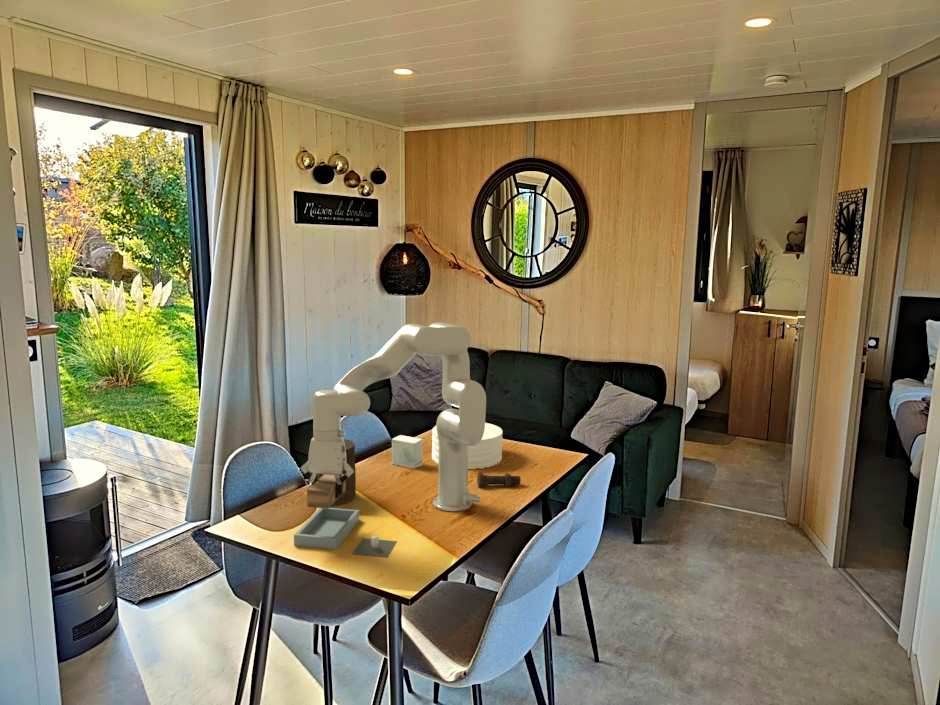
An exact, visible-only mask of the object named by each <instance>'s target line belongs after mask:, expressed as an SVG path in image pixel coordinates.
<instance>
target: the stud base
mask: <svg viewBox="0 0 940 705" xmlns="http://www.w3.org/2000/svg"><path fill="white" fill-rule="evenodd" d="M397 543H398V541H397V540H389V539H387V540H386V539H379V536H378V535H373V536H371V537H370V538H364V537H363V538H362V539H361V540H360V541H359V543H358V545H357V546H356V547H355V548H354V550H353V552H352V553H351V555H354V556H365V557H373V558H374V557H375V558H386V559H388V557H389V556H390V555H391V553H392V551H393V549H394V547H395V546H396V545H397Z"/></svg>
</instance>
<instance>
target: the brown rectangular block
mask: <svg viewBox="0 0 940 705" xmlns="http://www.w3.org/2000/svg"><path fill="white" fill-rule="evenodd" d="M344 475H345V474H343V476H344ZM336 484H337V482H336V479H335V476H334V475H327V474H324V475H323V476H322V477H321V478H320V479H319V480H318V481H316V482H315V483H314V484H313V485H312V486H311V487H310V486H309V487H308V488H307V490H306V491H307V492H306V495H307V497H306V498H307V499H306V500H307V501H306V503H307V508H315V509H317V508H319V509H320V508H325V509H329V508H331V506H333V505H332V504H333V503H334V502H335V501H336V500H337V499H338V498H336V497H335V485H336ZM345 487H346V480H345V481H344V482H343V493H344V492H345ZM343 493H342V494H343ZM342 494H341V495H342ZM341 495H340V496H341Z"/></svg>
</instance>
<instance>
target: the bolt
mask: <svg viewBox="0 0 940 705" xmlns="http://www.w3.org/2000/svg"><path fill="white" fill-rule="evenodd" d="M476 478H477V479H476V480H477V481H476V482H477V488H478V489H482V488H484V486H488V485H493V486H494V485H496V486H497V485H498V486H501V485H502V486H503V485H504V487H505V488H511V486H519V485H521V481H522V478H521V476H520V475H511V473H509V472H508V473H507V472H506V473H504V475H488V474H485V475H484V472H483V471H478V473H477V477H476Z"/></svg>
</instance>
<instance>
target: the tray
mask: <svg viewBox="0 0 940 705" xmlns="http://www.w3.org/2000/svg"><path fill="white" fill-rule="evenodd" d="M359 521H360V510H359V509H352V508H351V509H350V508H349V509H348V508H339V507H337V508H335V507H330V508H329V509H325V508H319V509H318V510H316V512H315V513H314V514H313V515H312V516H311V517H310V518H309V519H308V520H307V521H306V522H305V523H304V524H303V525H302V526H301V527H300V528H299V529H298V530H297V531H296V532H295V533H294V535H293V546H294V547H295V546H296V547H297V546H298V547H308V548H317V549H318V548H319V549H320V548H321V549H328V550H337V548H339V546H340V545H341V544H342V542H344V540H345V539H346V537H347V536H348V535H349V533H350V532H351V531H352V529H354V528H355V526H356V525H357V523H358V522H359Z"/></svg>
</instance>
